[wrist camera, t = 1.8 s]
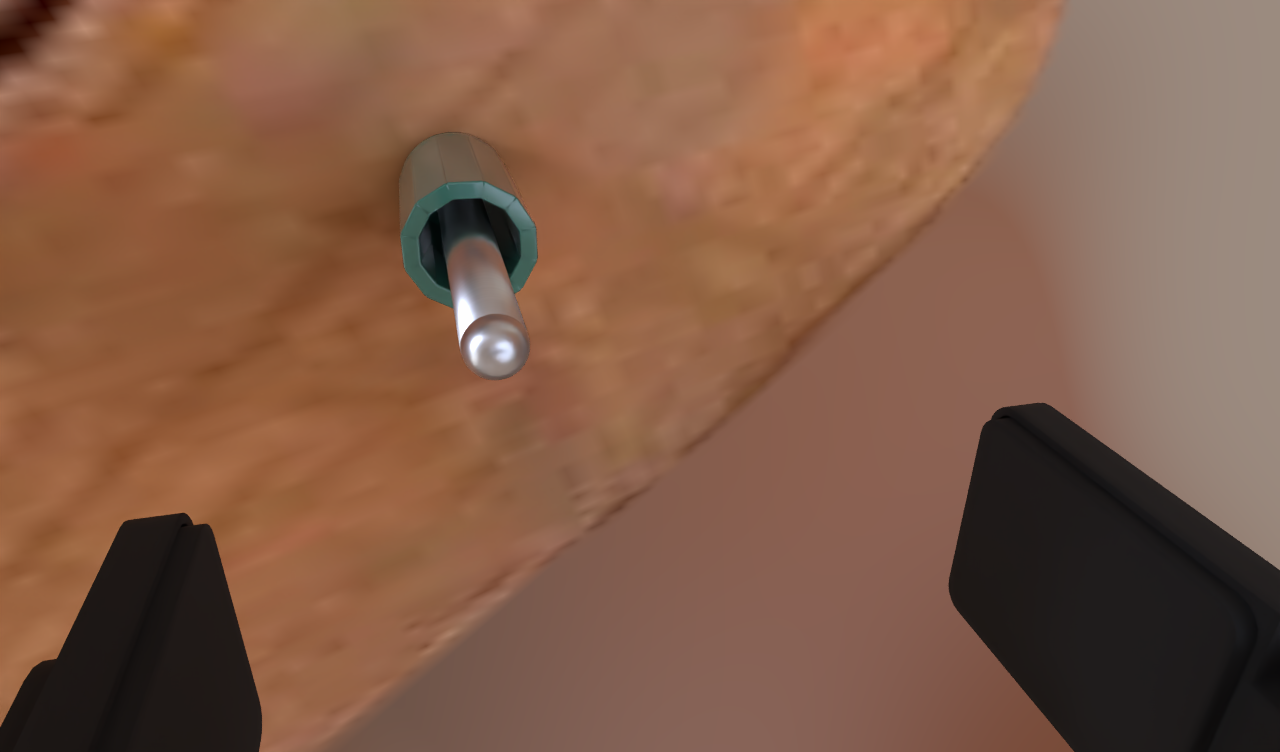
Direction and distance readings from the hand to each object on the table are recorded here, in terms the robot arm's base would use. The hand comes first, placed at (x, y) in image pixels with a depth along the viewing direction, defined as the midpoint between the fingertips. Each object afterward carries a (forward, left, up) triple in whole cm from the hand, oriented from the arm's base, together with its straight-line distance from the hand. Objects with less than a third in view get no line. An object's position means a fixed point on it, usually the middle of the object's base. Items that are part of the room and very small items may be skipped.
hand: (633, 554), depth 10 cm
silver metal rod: (-1, -1, -22) cm, 22 cm away
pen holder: (-1, -1, -23) cm, 23 cm away
